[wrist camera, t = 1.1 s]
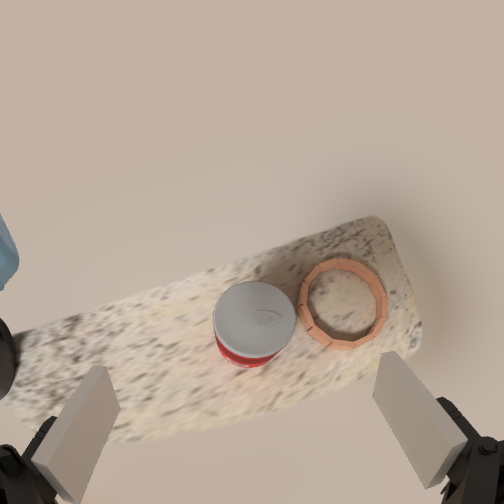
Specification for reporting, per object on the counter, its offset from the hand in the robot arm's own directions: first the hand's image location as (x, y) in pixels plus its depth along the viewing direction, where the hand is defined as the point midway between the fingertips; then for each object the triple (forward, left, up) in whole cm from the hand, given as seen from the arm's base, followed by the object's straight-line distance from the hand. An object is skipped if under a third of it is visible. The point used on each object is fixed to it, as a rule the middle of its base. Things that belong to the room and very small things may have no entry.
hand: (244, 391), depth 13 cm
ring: (+14, +12, -24) cm, 31 cm away
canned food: (+1, +7, -24) cm, 26 cm away
